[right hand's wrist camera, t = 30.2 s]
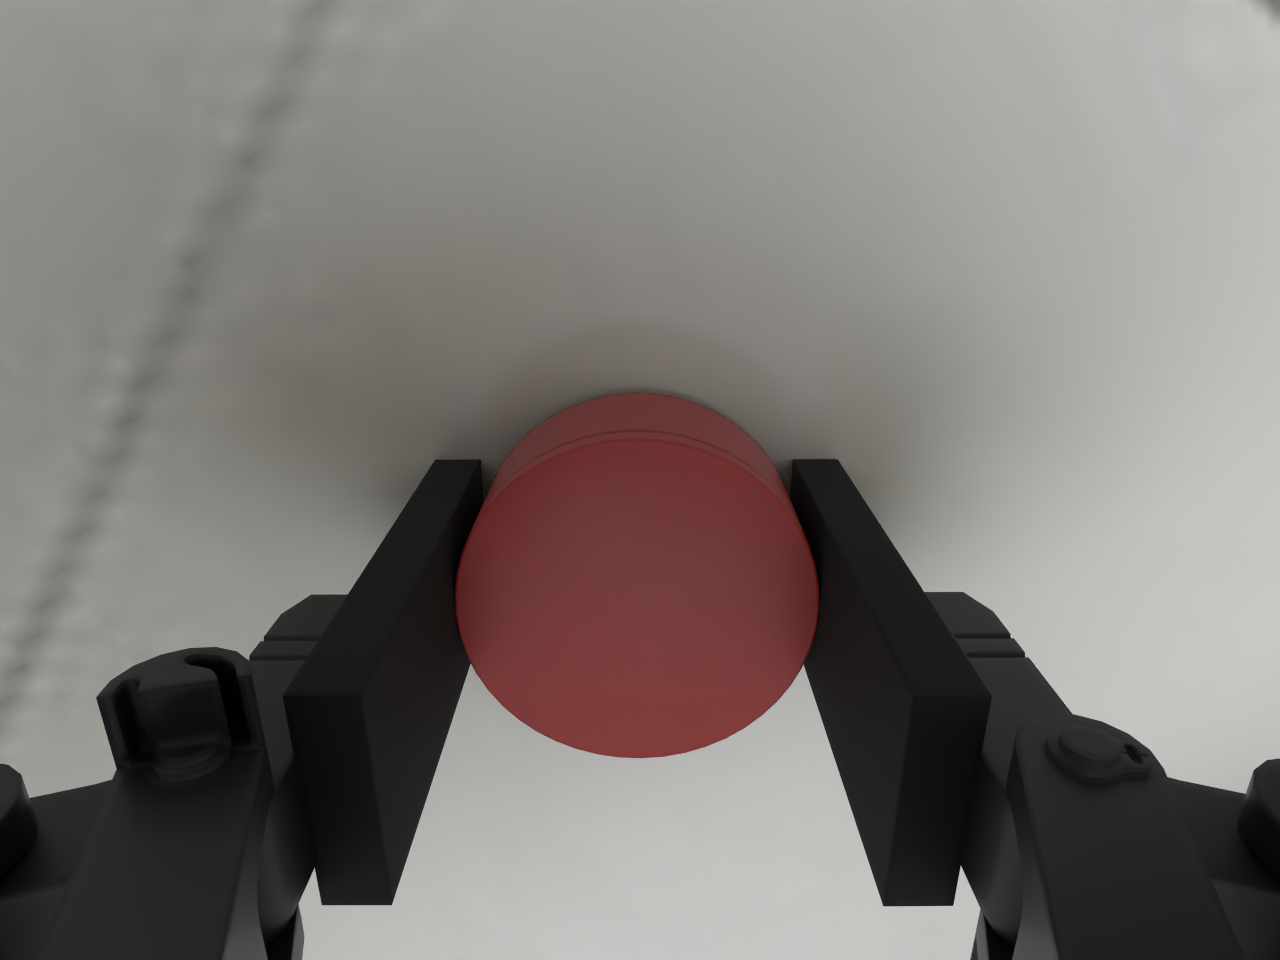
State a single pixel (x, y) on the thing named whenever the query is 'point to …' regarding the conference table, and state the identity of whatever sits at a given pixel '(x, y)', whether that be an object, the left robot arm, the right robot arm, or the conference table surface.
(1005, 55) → the conference table surface
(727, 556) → the lid
